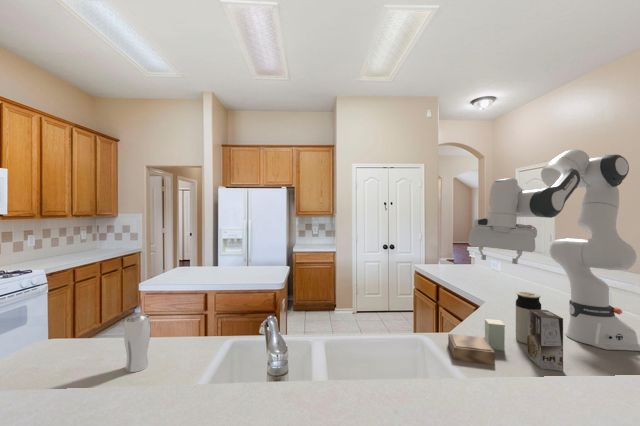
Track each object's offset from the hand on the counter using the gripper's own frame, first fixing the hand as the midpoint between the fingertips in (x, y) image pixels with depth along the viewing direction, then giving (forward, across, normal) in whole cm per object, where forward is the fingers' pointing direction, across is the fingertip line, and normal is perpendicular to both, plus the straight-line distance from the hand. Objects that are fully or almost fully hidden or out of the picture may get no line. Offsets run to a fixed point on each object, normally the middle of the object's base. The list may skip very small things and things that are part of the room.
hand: (498, 261), depth 104 cm
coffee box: (+31, -15, -1) cm, 34 cm away
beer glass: (+45, +94, +67) cm, 124 cm away
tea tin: (+31, -1, -7) cm, 32 cm away
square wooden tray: (+33, +7, +4) cm, 34 cm away
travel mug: (+29, -12, -19) cm, 37 cm away
